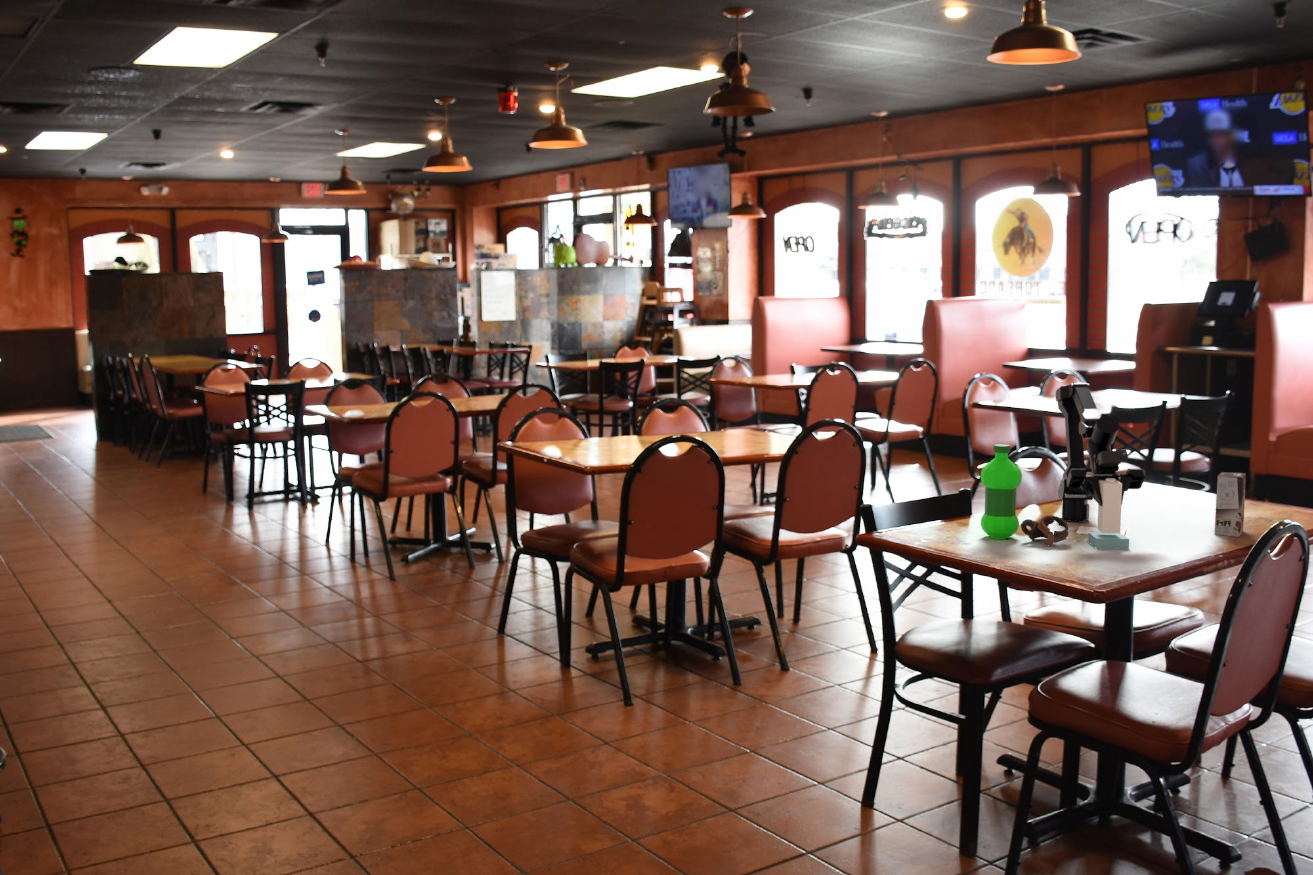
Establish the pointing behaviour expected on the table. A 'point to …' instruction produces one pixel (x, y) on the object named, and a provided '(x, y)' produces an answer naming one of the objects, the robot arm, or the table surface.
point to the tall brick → (1110, 506)
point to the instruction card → (1093, 530)
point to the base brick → (1108, 540)
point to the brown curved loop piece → (1045, 529)
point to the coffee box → (1230, 504)
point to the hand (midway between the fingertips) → (1111, 505)
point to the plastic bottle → (1000, 494)
